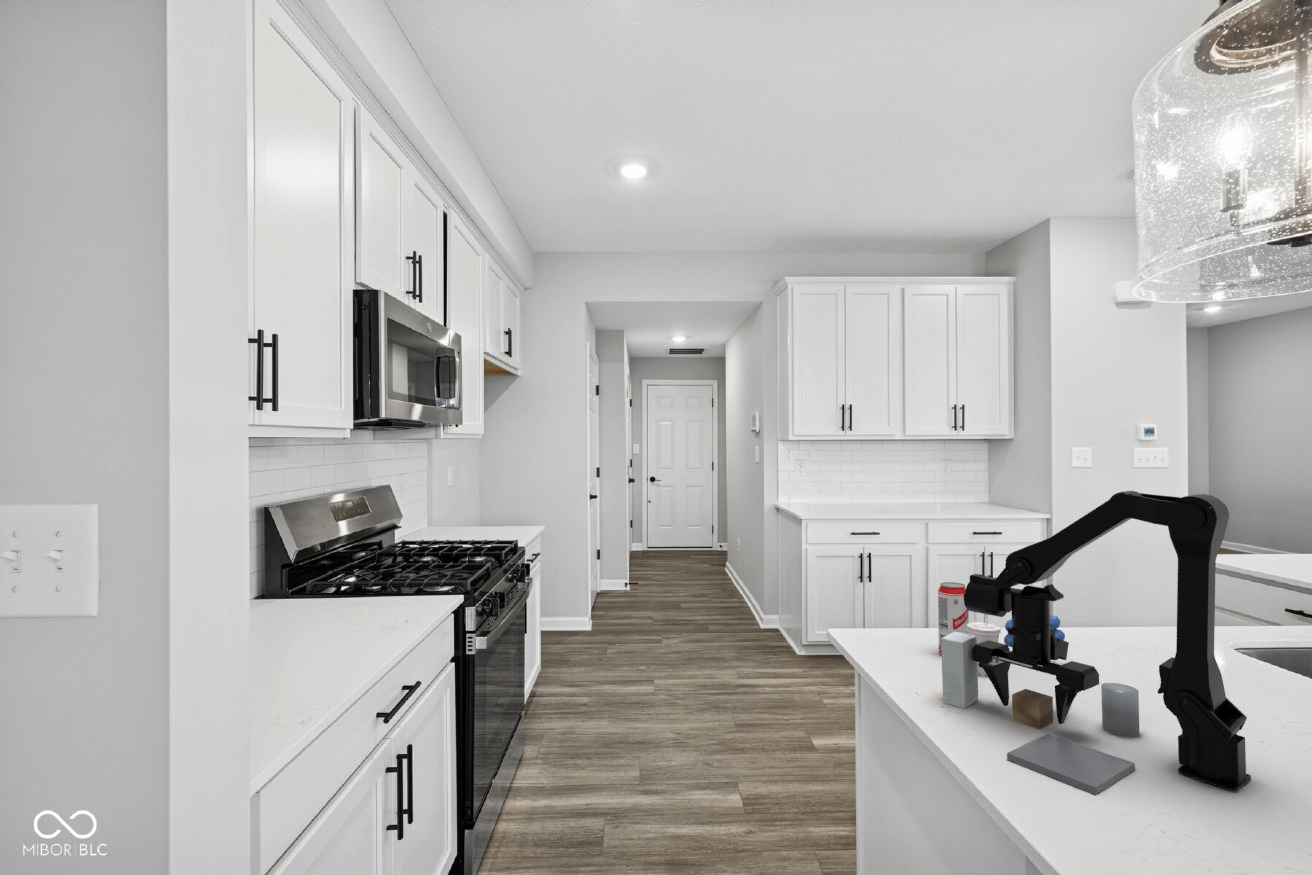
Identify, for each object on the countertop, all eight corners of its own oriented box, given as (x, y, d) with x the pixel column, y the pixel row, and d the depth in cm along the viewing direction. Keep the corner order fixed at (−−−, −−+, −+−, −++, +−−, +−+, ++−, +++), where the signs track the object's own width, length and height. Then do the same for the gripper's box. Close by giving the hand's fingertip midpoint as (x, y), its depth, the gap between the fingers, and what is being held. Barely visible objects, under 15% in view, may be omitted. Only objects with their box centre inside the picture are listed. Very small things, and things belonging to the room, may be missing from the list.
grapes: (1068, 662, 141) (1067, 606, 141) (1064, 670, 136) (1062, 613, 136) (1008, 652, 149) (1007, 599, 149) (1001, 659, 143) (1000, 605, 143)
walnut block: (1053, 723, 111) (1052, 696, 111) (1039, 729, 108) (1039, 702, 108) (1026, 714, 115) (1025, 688, 115) (1012, 720, 112) (1011, 694, 112)
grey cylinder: (1145, 732, 107) (1144, 689, 107) (1131, 740, 104) (1130, 696, 104) (1110, 722, 111) (1109, 680, 111) (1096, 729, 108) (1095, 686, 108)
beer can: (932, 653, 148) (931, 583, 148) (952, 650, 151) (951, 580, 151) (955, 662, 142) (954, 588, 142) (975, 657, 145) (974, 585, 145)
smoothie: (1006, 679, 131) (1004, 609, 132) (971, 677, 133) (970, 608, 133) (996, 668, 138) (994, 602, 138) (963, 666, 139) (962, 601, 139)
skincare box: (955, 693, 124) (954, 630, 124) (979, 700, 121) (977, 635, 121) (941, 702, 120) (940, 637, 120) (965, 709, 117) (963, 642, 117)
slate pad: (1134, 769, 94) (1134, 762, 94) (1095, 794, 88) (1095, 787, 88) (1048, 739, 105) (1048, 733, 105) (1007, 759, 98) (1007, 752, 98)
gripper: (1113, 627, 108) (1116, 721, 108) (1002, 605, 124) (1004, 687, 124) (1081, 638, 102) (1083, 738, 102) (968, 613, 118) (970, 700, 118)
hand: (1032, 713), depth 111 cm, fingers open, 9 cm apart
